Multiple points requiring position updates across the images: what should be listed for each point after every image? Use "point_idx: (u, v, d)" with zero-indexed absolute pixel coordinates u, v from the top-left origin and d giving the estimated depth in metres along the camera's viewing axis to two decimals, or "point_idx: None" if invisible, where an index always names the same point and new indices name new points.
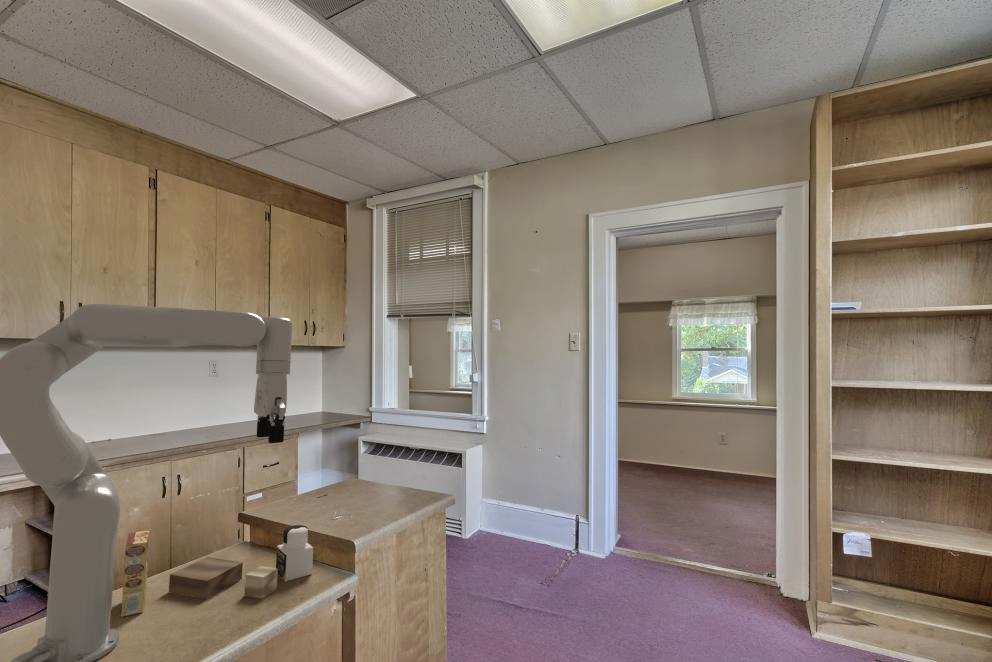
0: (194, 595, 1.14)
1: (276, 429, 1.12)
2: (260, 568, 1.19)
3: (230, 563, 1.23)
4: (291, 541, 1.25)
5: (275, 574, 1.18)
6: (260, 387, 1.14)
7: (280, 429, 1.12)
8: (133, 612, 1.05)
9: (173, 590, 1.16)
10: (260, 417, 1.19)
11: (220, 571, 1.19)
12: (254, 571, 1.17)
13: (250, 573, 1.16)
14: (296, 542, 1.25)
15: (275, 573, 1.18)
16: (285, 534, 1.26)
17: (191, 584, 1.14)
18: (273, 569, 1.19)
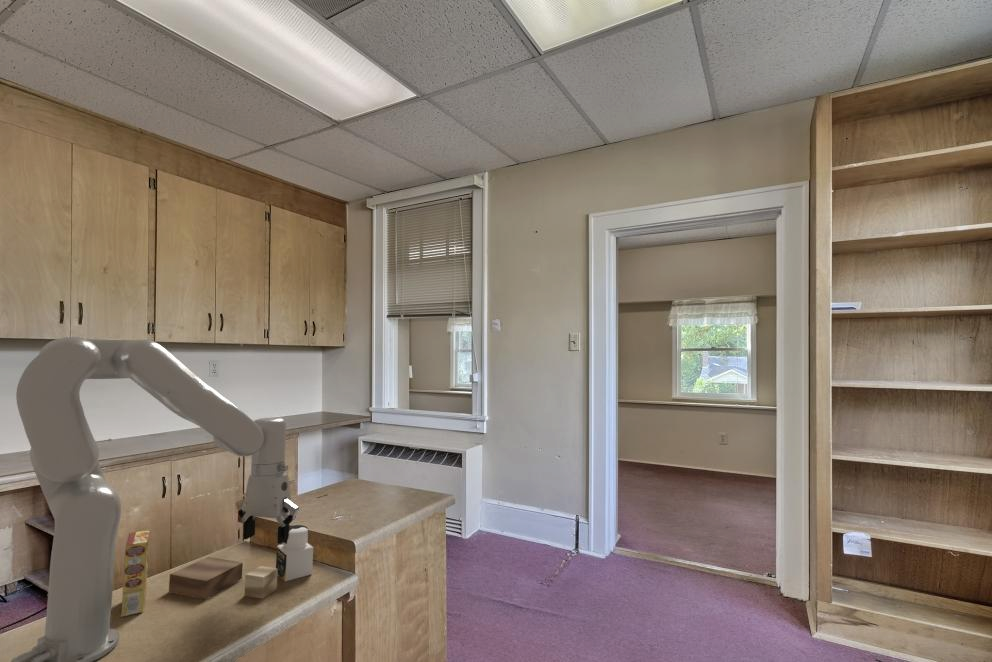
0: (193, 595, 1.14)
1: None
2: (260, 568, 1.19)
3: (230, 564, 1.23)
4: (291, 541, 1.25)
5: (275, 574, 1.18)
6: None
7: None
8: (133, 612, 1.05)
9: (173, 590, 1.16)
10: None
11: (220, 571, 1.19)
12: (253, 571, 1.17)
13: (250, 573, 1.16)
14: (296, 542, 1.25)
15: (275, 573, 1.18)
16: None
17: (190, 584, 1.14)
18: (273, 569, 1.19)
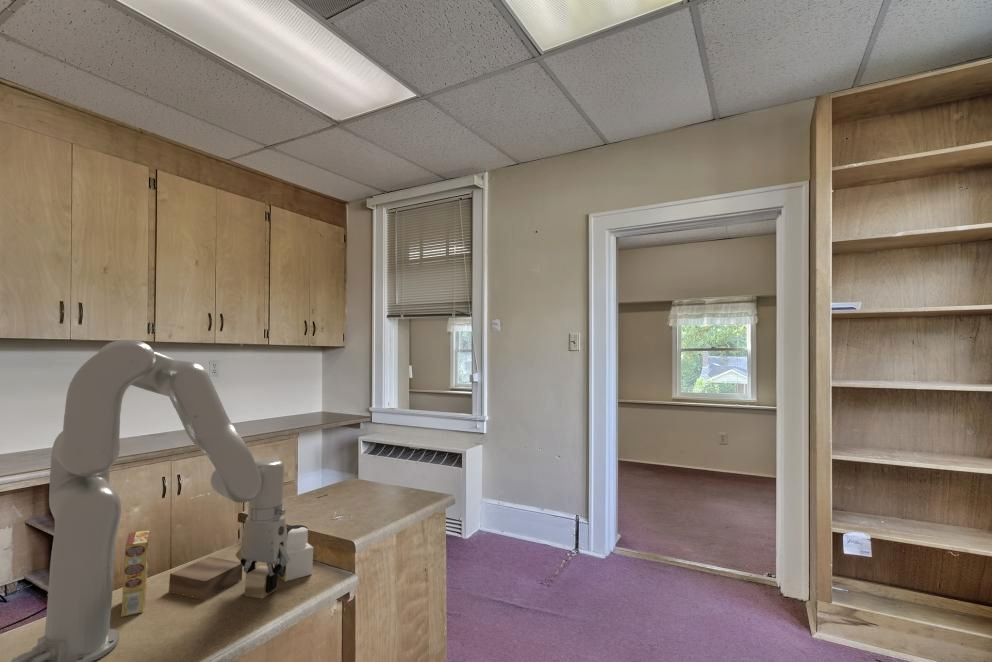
0: (193, 595, 1.14)
1: None
2: (260, 568, 1.19)
3: (230, 564, 1.23)
4: (291, 541, 1.25)
5: None
6: None
7: None
8: (133, 612, 1.05)
9: (173, 589, 1.16)
10: None
11: (219, 571, 1.18)
12: (254, 570, 1.17)
13: (250, 573, 1.16)
14: (296, 542, 1.25)
15: None
16: None
17: (190, 584, 1.14)
18: None
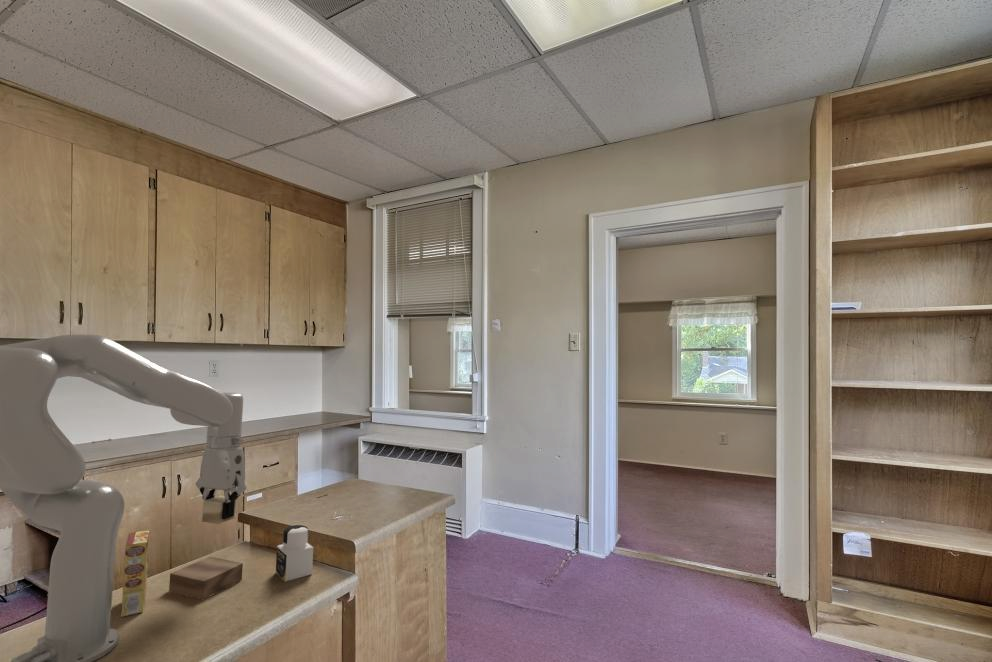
0: (192, 595, 1.14)
1: None
2: (219, 497, 1.22)
3: (230, 564, 1.23)
4: (291, 541, 1.25)
5: None
6: None
7: None
8: (133, 612, 1.05)
9: (173, 589, 1.16)
10: None
11: (219, 571, 1.18)
12: (212, 498, 1.21)
13: (208, 500, 1.19)
14: (296, 542, 1.25)
15: None
16: (285, 534, 1.26)
17: (189, 584, 1.14)
18: None
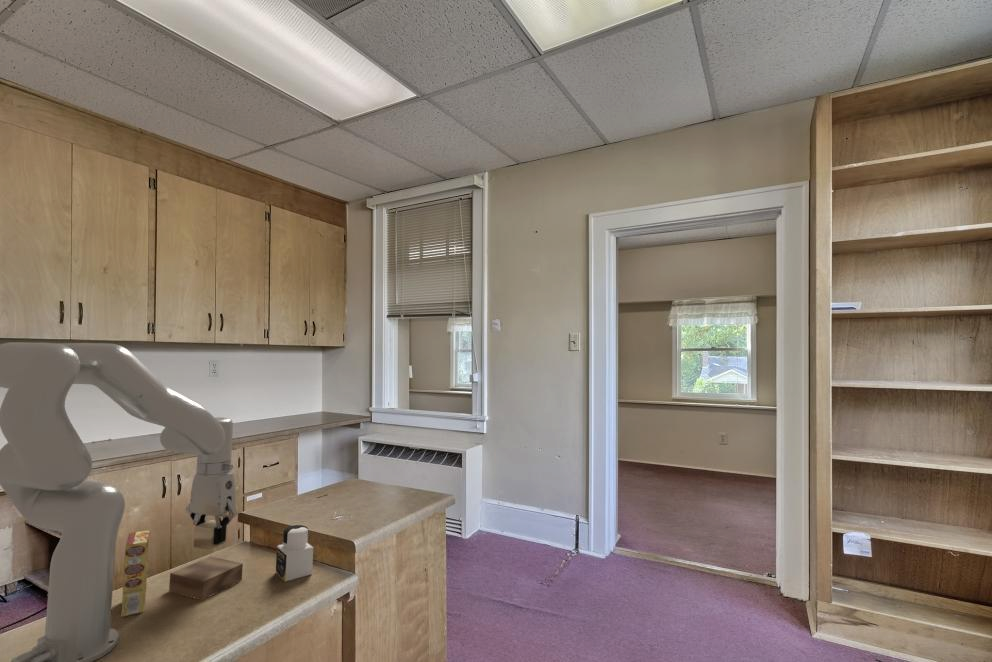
0: (191, 595, 1.14)
1: None
2: (210, 521, 1.23)
3: (230, 564, 1.22)
4: (291, 541, 1.25)
5: None
6: None
7: None
8: (133, 612, 1.05)
9: (173, 589, 1.16)
10: None
11: (218, 571, 1.18)
12: (203, 524, 1.21)
13: (199, 525, 1.20)
14: (296, 542, 1.25)
15: None
16: (285, 534, 1.26)
17: (189, 584, 1.14)
18: None
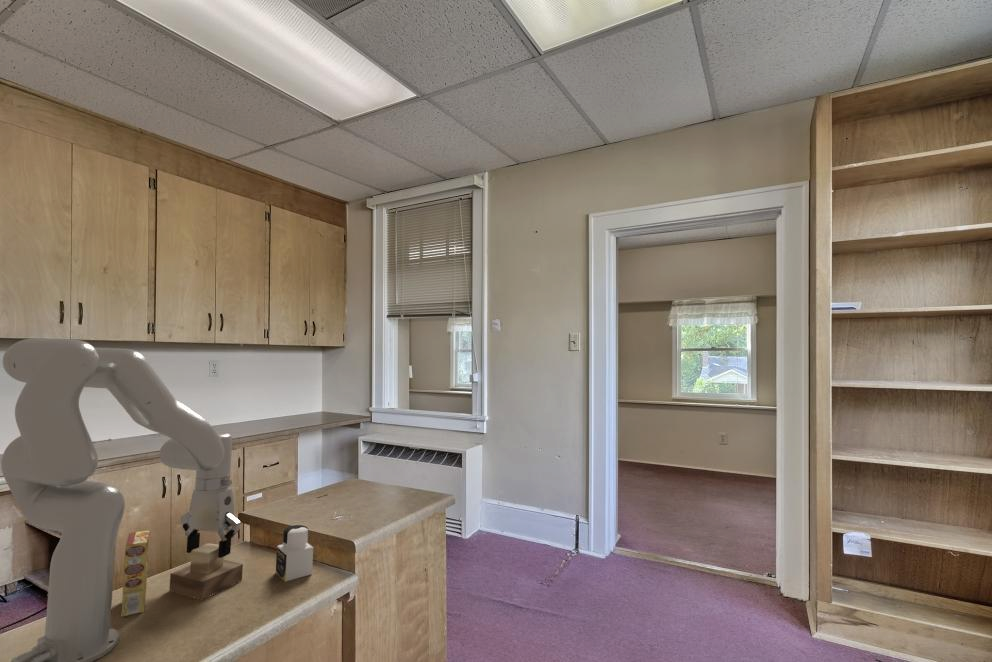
0: (191, 595, 1.14)
1: None
2: (207, 545, 1.22)
3: (230, 565, 1.22)
4: (291, 541, 1.25)
5: None
6: None
7: None
8: (133, 612, 1.05)
9: (173, 589, 1.16)
10: None
11: (218, 572, 1.18)
12: (200, 547, 1.20)
13: (196, 549, 1.19)
14: (296, 542, 1.25)
15: None
16: (285, 534, 1.26)
17: (189, 585, 1.15)
18: None
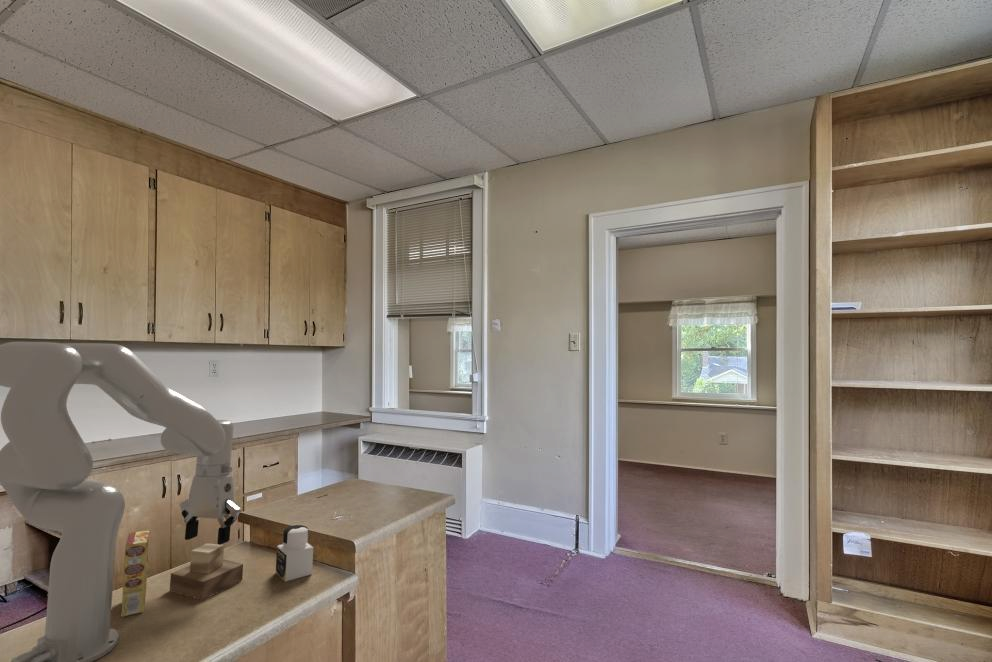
0: (192, 595, 1.14)
1: None
2: (206, 545, 1.22)
3: (231, 565, 1.22)
4: (291, 541, 1.25)
5: (221, 550, 1.22)
6: None
7: None
8: (133, 612, 1.05)
9: (173, 589, 1.16)
10: None
11: (219, 572, 1.18)
12: (199, 547, 1.20)
13: (196, 549, 1.19)
14: (296, 542, 1.25)
15: (221, 549, 1.22)
16: (285, 534, 1.26)
17: (189, 585, 1.15)
18: (219, 545, 1.22)
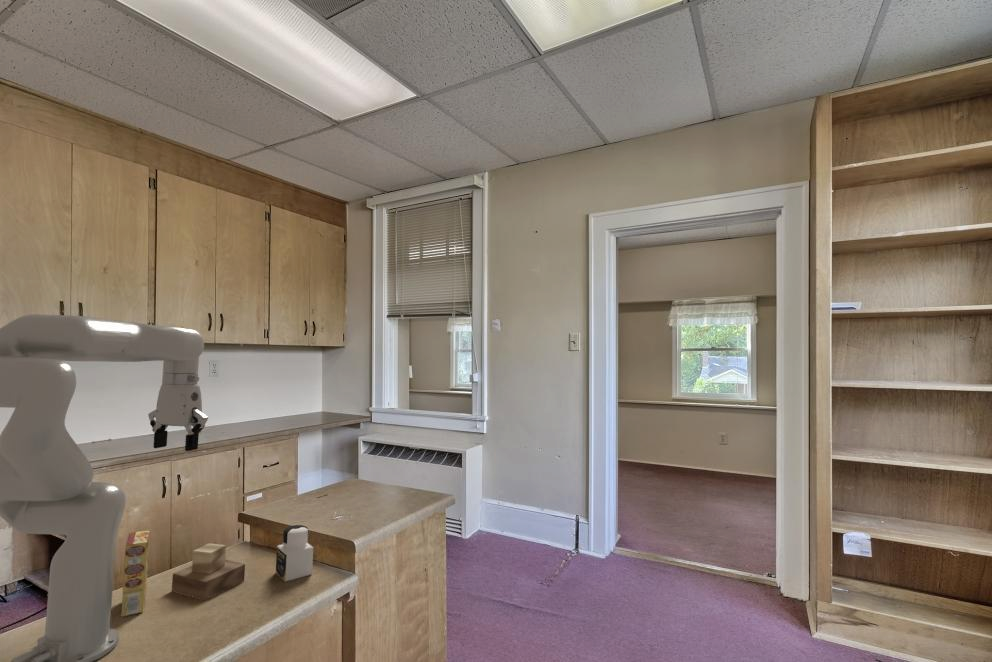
0: (194, 596, 1.14)
1: None
2: (208, 545, 1.22)
3: (233, 565, 1.22)
4: (291, 541, 1.25)
5: (223, 550, 1.22)
6: None
7: None
8: (133, 612, 1.05)
9: (175, 589, 1.16)
10: None
11: (221, 572, 1.18)
12: (201, 548, 1.20)
13: (198, 549, 1.19)
14: (296, 542, 1.25)
15: (223, 549, 1.22)
16: (285, 534, 1.26)
17: (191, 585, 1.14)
18: (221, 546, 1.22)
